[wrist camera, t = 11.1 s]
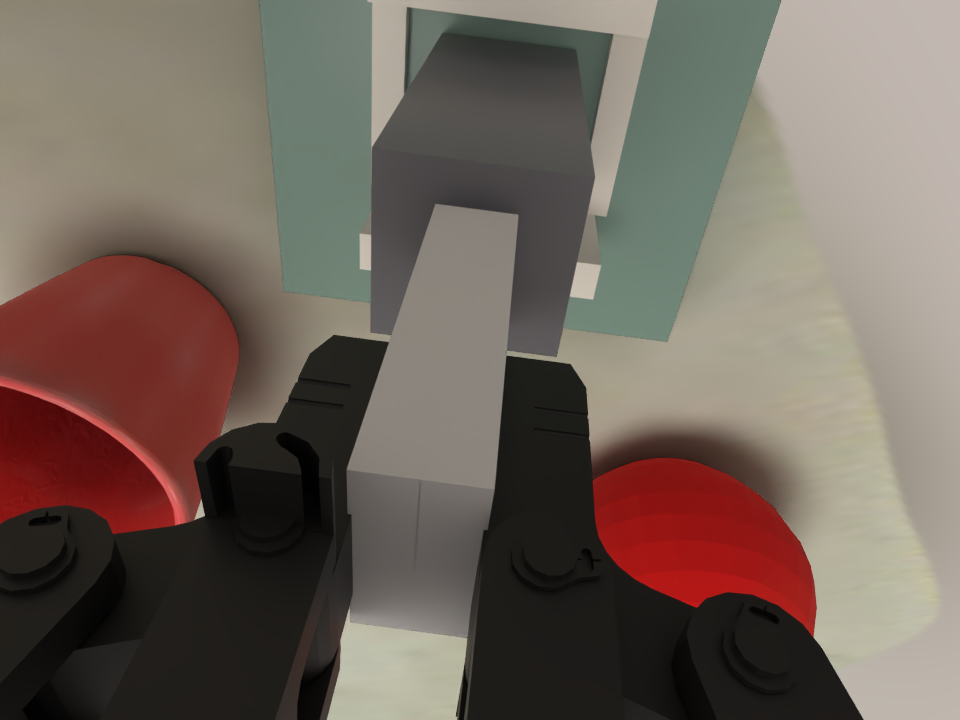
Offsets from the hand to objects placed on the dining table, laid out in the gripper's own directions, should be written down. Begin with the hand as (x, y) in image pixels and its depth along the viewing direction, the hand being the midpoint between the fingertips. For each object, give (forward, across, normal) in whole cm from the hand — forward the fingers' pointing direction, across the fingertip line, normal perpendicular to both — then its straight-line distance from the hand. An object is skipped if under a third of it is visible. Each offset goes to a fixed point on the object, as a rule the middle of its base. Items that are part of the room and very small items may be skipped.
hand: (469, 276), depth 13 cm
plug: (+11, 0, 0) cm, 11 cm away
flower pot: (+13, -14, -12) cm, 22 cm away
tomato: (+13, +10, -19) cm, 25 cm away
